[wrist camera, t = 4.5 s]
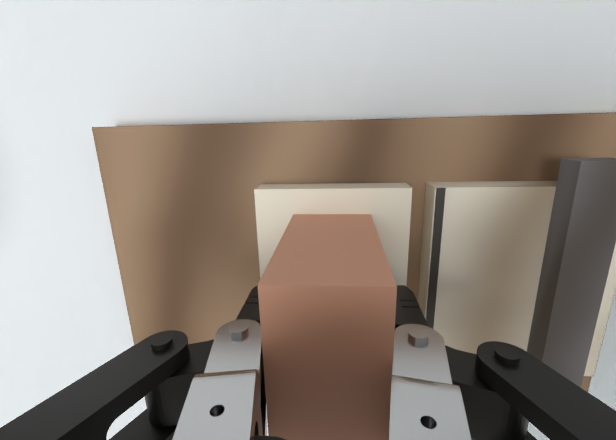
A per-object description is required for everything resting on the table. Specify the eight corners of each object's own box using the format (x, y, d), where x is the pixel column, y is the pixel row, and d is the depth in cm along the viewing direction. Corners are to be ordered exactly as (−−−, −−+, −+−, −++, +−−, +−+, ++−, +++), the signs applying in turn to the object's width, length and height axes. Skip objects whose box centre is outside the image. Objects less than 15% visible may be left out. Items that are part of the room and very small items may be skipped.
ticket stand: (623, 112, 14) (727, 108, 10) (564, 378, 17) (625, 446, 13) (114, 127, 16) (46, 127, 12) (156, 361, 19) (113, 417, 15)
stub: (406, 182, 14) (476, 242, 7) (396, 350, 16) (442, 528, 9) (260, 184, 14) (186, 240, 7) (271, 346, 16) (221, 509, 9)
